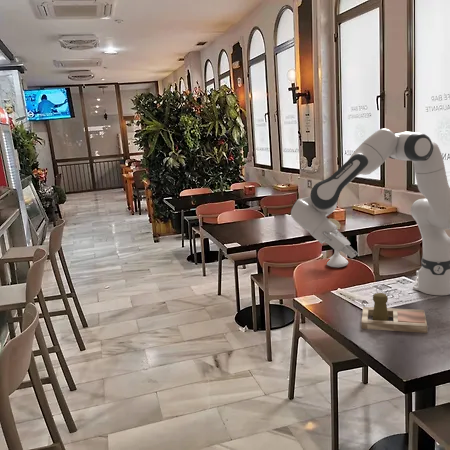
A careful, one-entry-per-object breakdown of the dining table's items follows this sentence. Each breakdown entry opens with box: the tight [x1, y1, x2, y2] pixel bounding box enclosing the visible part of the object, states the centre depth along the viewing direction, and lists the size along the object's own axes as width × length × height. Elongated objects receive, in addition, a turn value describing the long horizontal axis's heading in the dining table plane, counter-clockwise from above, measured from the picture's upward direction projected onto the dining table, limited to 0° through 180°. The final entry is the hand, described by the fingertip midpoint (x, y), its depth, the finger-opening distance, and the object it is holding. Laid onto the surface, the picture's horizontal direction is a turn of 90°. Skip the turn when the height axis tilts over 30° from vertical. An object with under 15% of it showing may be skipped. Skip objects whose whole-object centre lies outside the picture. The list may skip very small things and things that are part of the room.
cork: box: [371, 292, 390, 321], centre depth 168 cm, size 6×6×11 cm
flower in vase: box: [326, 218, 349, 268], centre depth 234 cm, size 13×11×25 cm
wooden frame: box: [361, 306, 428, 334], centre depth 168 cm, size 14×22×3 cm, turn 71°
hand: (355, 256), depth 167 cm, fingers open, 8 cm apart
